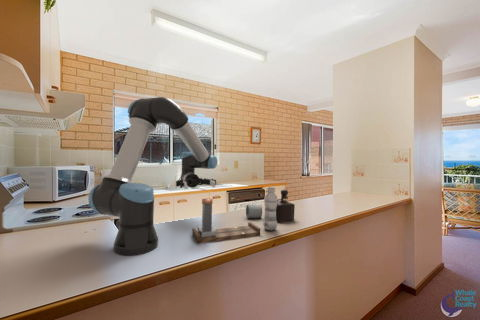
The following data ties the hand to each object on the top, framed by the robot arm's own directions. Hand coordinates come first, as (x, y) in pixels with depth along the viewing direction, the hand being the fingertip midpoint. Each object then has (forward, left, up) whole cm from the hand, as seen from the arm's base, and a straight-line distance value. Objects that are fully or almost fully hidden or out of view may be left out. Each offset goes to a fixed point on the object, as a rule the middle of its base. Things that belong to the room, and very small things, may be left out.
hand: (200, 185), depth 108 cm
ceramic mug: (+33, +10, -21) cm, 40 cm away
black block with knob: (+46, -2, -21) cm, 50 cm away
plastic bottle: (+31, -13, -21) cm, 39 cm away
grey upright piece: (0, -13, -19) cm, 23 cm away
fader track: (+9, -13, -21) cm, 26 cm away
